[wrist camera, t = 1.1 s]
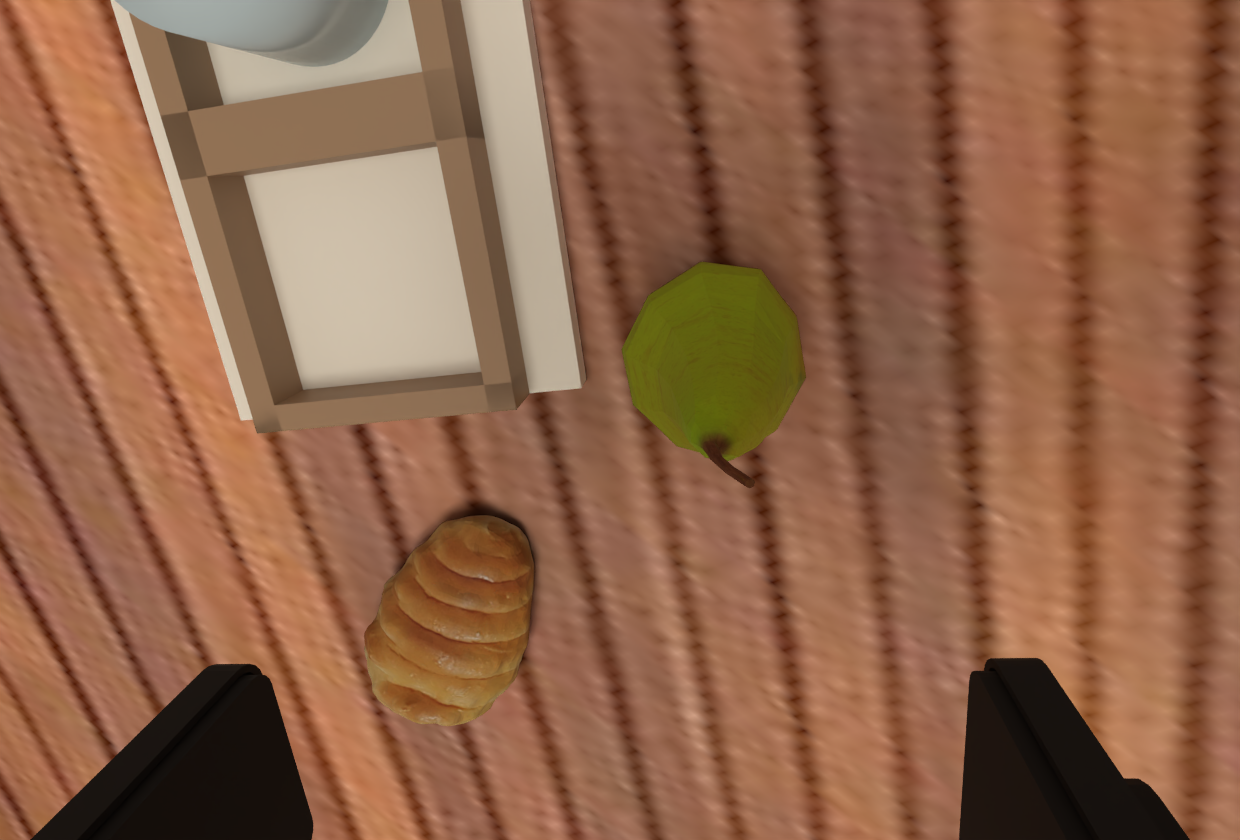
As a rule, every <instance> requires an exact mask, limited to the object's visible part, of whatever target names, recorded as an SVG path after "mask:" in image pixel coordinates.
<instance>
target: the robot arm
mask: <svg viewBox="0 0 1240 840" xmlns="http://www.w3.org/2000/svg"><path fill="white" fill-rule="evenodd" d="M312 834H313V820H312V816H311V812H310V809H309V806H308V802H307V799H306V796H305V792H304V789H303V786H302V782H301V779H300V776H299V772H298V769H297V766H296V763H295V759H294V756H293V753H292V749H291V746H290V743H289V739H288V736H287V733H286V729H285V726H284V723H283V719H282V716H281V713H280V709H279V706H278V703H277V700H276V696H275V693H274V690H273V686H272V683H271V681H270V679H269V678H268V677H267V676H265V675H262V673H261V671H260V669H259V668H258V667H257V666H256V665H252V664H215V665H211V666H208V667H207V668H206V669H204V670H203V671H202V672H201V673H200V674H199V675H198V676H197V677H196V678H195V679H194V680H193V681H192V682H191V683H190V684H189V685H188V686H187V687H186V688H185V689H184V690H183V691H181V692H180V693H179V694H178V695H177V696H176V697H175V698H174V699H173V700H172V701H171V702H170V703H169V704H168V705H167V706H166V707H165V708H164V709H163V710H162V711H161V712H160V713H159V714H158V715H157V716H156V717H155V718H154V719H153V720H152V721H151V722H150V723H149V724H148V725H147V726H146V727H145V728H144V729H143V730H142V731H141V732H140V733H139V734H138V735H137V736H136V737H135V738H134V739H133V740H132V741H131V742H130V743H129V744H128V745H127V746H125V747H124V748H123V749H122V750H121V751H120V752H119V753H118V754H117V755H116V756H115V757H114V758H113V759H112V760H111V761H110V762H109V763H108V764H107V765H106V766H105V767H104V768H103V769H102V770H101V771H100V772H99V773H98V774H97V775H96V776H95V777H94V778H93V779H92V780H91V781H90V782H89V783H88V784H87V785H86V786H85V787H84V788H83V789H82V790H81V791H80V792H79V793H78V794H77V795H76V796H75V797H74V798H73V799H72V800H71V801H70V802H68V803H67V804H66V805H65V806H64V807H63V808H62V809H61V810H60V811H59V812H58V813H57V814H56V815H55V816H54V817H53V818H52V819H51V820H50V821H49V822H48V823H47V824H46V825H45V826H44V827H43V828H42V829H41V830H40V831H39V832H38V833H37V834H36V835H35V836H34V837H33V838H32V839H31V840H311V839H312ZM959 840H1190V839H1189V838H1188V836H1187V835H1186V834H1185V832H1184V831H1183V829H1182V828H1181V827H1180V825H1179V824H1178V822H1177V821H1176V820H1175V818H1174V817H1173V815H1172V814H1171V813H1170V811H1169V810H1168V809H1167V807H1166V806H1165V804H1164V803H1163V802H1162V800H1161V799H1160V797H1159V796H1158V795H1157V794H1156V793H1155V792H1154V791H1153V789H1152V788H1151V787H1150V786H1149V785H1148V784H1146V783H1145V782H1143V781H1141V780H1140V779H1124V778H1123V777H1122V775H1121V774H1120V772H1119V771H1118V769H1117V768H1116V766H1115V765H1114V763H1113V762H1112V761H1111V759H1110V758H1109V756H1108V755H1107V753H1106V752H1105V750H1104V749H1103V747H1102V746H1101V744H1100V743H1099V741H1098V740H1097V739H1096V737H1095V736H1094V734H1093V733H1092V731H1091V730H1090V728H1089V727H1088V725H1087V724H1086V722H1085V721H1084V719H1083V718H1082V717H1081V715H1080V714H1079V712H1078V711H1077V709H1076V708H1075V706H1074V705H1073V703H1072V702H1071V700H1070V699H1069V697H1068V696H1067V695H1066V693H1065V692H1064V690H1063V689H1062V687H1061V686H1060V684H1059V683H1058V681H1057V680H1056V678H1055V677H1054V675H1053V674H1052V673H1051V671H1050V670H1049V668H1048V667H1047V665H1046V664H1045V663H1044V662H1043V661H1042V660H1040V659H1038V658H991V659H988V660H987V662H986V664H985V668H984V671H973V672H972V673H971V675H970V680H969V694H968V710H967V725H966V741H965V756H964V771H963V787H962V802H961V818H960V833H959Z"/></svg>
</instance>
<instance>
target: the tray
mask: <svg viewBox="0 0 1240 840" xmlns="http://www.w3.org/2000/svg"><path fill="white" fill-rule="evenodd" d="M111 3H112V7H113V10H114V13H115V16H116V19H117V23H118V26H119V29H120V32H121V36H122V39H123V42H124V45H125V48H126V52H127V55H128V58H129V61H130V64H131V68H132V71H133V74H134V77H135V81H136V84H137V87H138V90H139V93H140V97H141V100H142V103H143V106H144V110H145V113H146V116H147V119H148V122H149V126H150V129H151V132H152V135H153V139H154V142H155V145H156V148H157V151H158V155H159V158H160V161H161V164H162V167H163V171H164V174H165V177H166V180H167V184H168V187H169V190H170V193H171V196H172V200H173V203H174V206H175V209H176V213H177V216H178V219H179V222H180V225H181V229H182V232H183V235H184V238H185V242H186V245H187V248H188V251H189V254H190V258H191V261H192V264H193V267H194V271H195V274H196V277H197V280H198V283H199V287H200V290H201V293H202V296H203V299H204V303H205V306H206V309H207V312H208V316H209V319H210V322H211V325H212V328H213V332H214V335H215V338H216V341H217V345H218V348H219V351H220V354H221V357H222V361H223V364H224V367H225V370H226V374H227V377H228V380H229V383H230V386H231V390H232V393H233V396H234V399H235V403H236V406H237V409H238V412H239V415H240V419H241V420H251V419H253V421H254V425H255V428H256V431H257V433H267V432H278V431H288V430H299V429H310V428H321V427H332V426H343V425H354V424H365V423H376V422H387V421H398V420H409V419H420V418H431V417H441V416H452V415H463V414H474V413H485V412H496V411H507V410H517V408H518V407H519V406H520V405H521V403H522V402H523V401H524V400H525V398H526V397H527V396H528V395H529V393H536V392H547V391H557V390H568V389H578V388H582V386H583V385H584V383H585V381H586V373H585V366H584V359H583V353H582V346H581V339H580V333H579V326H578V319H577V313H576V306H575V299H574V292H573V286H572V279H571V272H570V266H569V259H568V252H567V246H566V239H565V232H564V226H563V219H562V212H561V206H560V199H559V192H558V185H557V179H556V172H555V165H554V159H553V152H552V145H551V139H550V132H549V125H548V119H547V112H546V105H545V99H544V92H543V85H542V79H541V72H540V65H539V58H538V52H537V45H536V38H535V32H534V25H533V18H532V12H531V5H530V0H388V4H387V7H386V10H385V13H384V16H383V18H382V20H381V22H380V24H379V26H378V28H377V30H376V31H375V33H374V34H373V36H372V37H371V38H370V40H369V41H368V42H367V43H366V44H365V45H364V46H363V47H362V48H361V49H360V50H359V51H357V52H356V53H355V54H353V55H352V56H350V57H349V58H347V59H345V60H343V61H340V62H338V63H335V64H331V65H327V66H320V67H307V66H300V65H295V64H291V63H287V62H283V61H279V60H275V59H271V58H268V57H264V56H260V55H256V54H252V53H248V52H244V51H241V50H237V49H233V48H229V47H225V46H221V45H218V44H214V43H210V42H206V41H202V40H198V39H194V38H191V37H187V36H183V35H179V34H175V33H171V32H168V31H165V30H162V29H159V28H156V27H154V26H152V25H150V24H148V23H146V22H144V21H142V20H140V19H138V18H137V17H135V16H134V15H132V14H131V13H129V12H128V11H127V10H125V9H124V8H123V7H122V6H121V5H119V4H118V3H117V2H116V1H115V0H111Z"/></svg>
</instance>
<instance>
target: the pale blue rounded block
mask: <svg viewBox="0 0 1240 840" xmlns="http://www.w3.org/2000/svg"><path fill="white" fill-rule="evenodd" d="M115 1H116V2H117V3H118V4H119V5H121V6H122V7H123V8H124V9H125V10H127V11H128V12H129V13H131V14H132V15H134V16H135V17H137V18H138V19H140V20H142V21H144V22H146V23H148V24H150V25H152V26H154V27H156V28H159V29H162V30H165V31H168V32H171V33H175V34H179V35H183V36H187V37H191V38H194V39H198V40H202V41H206V42H210V43H214V44H218V45H221V46H225V47H229V48H233V49H237V50H241V51H244V52H248V53H252V54H256V55H260V56H264V57H268V58H271V59H275V60H279V61H283V62H287V63H291V64H295V65H300V66H307V67H320V66H327V65H331V64H335V63H338V62H340V61H343V60H345V59H347V58H349V57H350V56H352V55H353V54H355V53H356V52H357V51H359V50H360V49H361V48H362V47H363V46H364V45H365V44H366V43H367V42H368V41H369V40H370V38H371V37H372V36H373V34H374V33H375V31H376V30H377V28H378V26H379V24H380V22H381V20H382V18H383V16H384V13H385V10H386V7H387V4H388V0H115Z"/></svg>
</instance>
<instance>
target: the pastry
mask: <svg viewBox="0 0 1240 840" xmlns="http://www.w3.org/2000/svg"><path fill="white" fill-rule="evenodd" d="M533 584H534V561H533V557H532V554H531V550H530V546H529V541H528V539H527V537H526V536H525V534H524V533H523V532H522V531H521V529H520V528H518V527H517V526H515V525H512V524H510V523H508V522H506V521H505V520H502V519H500V518H497V517H494V516H488V515H476V516H467V517H464V518H460V519H455V520H450V521H445V522H443V523H442V524H440V526H439V527H438V528H437V529H436V530H435V531H434V533H433V534H432V535H431V537H430V538H429V539H428V540H427V541H426V542H425V543H423V544H422V545H420V546H419V547H417V548H416V549H415V550H414V551H413V552H412V553H411V555H410V556H409V558H408V559H407V561H406V563H405V565H404V566H403V568H402V569H401V570H400V571H399V572H398V573H396V574H395V575H394V576H392V577H391V578H390V579H389V580H388V581H387V582H386V583H385V585H384V590H383V593H382V600H381V604H380V606H379V610H378V613H377V616H376V618H375V620H374V621H373V623H372V624H371V625H369V626H368V628H367V630H366V631H365V634H364V639H365V648H364V650H365V656H366V659H367V666H368V673H369V675H370V677H371V680H372V689H373V693H374V694H375V695H376V697H377V698H378V700H379V701H380V702H381V703H382V704H384V705H385V706H386V707H388V708H389V709H390V710H392V711H393V712H395V713H397V714H399V715H401V716H403V717H405V718H407V719H409V720H411V721H413V722H416V723H418V724H432V723H437V724H440V725H443V726H452V725H458V724H463V723H466V722H469V721H471V720H474V719H476V718H477V717H479V716H481V715H483V714H484V713H485V712H487V711H488V710H489V709H490V708H491V706H492V704H493V703H494V701H495V699H496V698H497V697H498V696H499V695H501V694H502V693H503V692H504V691H505V690H507V688H508V687H509V686H510V684H511V683H512V682H513V681H514V680H515V678H516V676H517V674H518V668H519V664H520V661H521V659H522V656H523V653H524V651H525V649H526V647H527V643H528V638H529V624H530V612H531V602H532V592H533Z"/></svg>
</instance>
